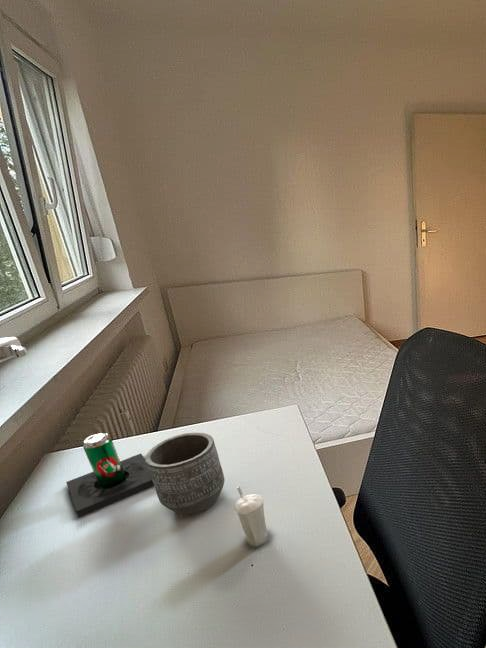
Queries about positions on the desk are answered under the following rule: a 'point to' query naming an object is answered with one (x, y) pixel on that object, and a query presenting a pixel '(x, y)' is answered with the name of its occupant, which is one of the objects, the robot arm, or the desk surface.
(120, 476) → the soda can
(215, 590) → the desk surface
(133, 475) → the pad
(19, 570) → the desk surface
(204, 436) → the planter
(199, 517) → the desk surface
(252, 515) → the milkshake
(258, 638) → the desk surface
